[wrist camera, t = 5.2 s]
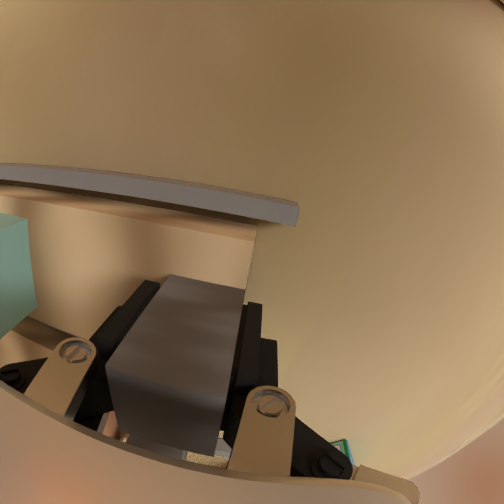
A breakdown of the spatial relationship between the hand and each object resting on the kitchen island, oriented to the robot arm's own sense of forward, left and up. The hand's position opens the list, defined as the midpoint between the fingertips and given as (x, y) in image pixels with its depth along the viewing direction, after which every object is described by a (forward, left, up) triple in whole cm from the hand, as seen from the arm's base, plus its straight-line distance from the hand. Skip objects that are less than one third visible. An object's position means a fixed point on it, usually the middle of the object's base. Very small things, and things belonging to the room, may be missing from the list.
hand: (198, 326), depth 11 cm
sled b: (+9, 0, -4) cm, 10 cm away
